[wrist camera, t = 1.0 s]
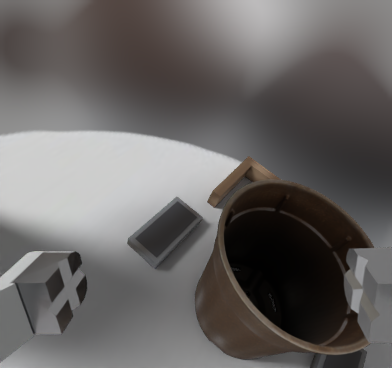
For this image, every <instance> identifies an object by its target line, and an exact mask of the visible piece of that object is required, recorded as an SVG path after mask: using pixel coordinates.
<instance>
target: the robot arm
mask: <svg viewBox="0 0 392 368" xmlns="http://www.w3.org/2000/svg"><path fill="white" fill-rule="evenodd" d="M346 262H347V264H348V265H349V267H350V269H349V270H348V271H347V272H346V273H345V275H344V290H345V296H346V299H347V302H348V304H349V306H350V308H351V309H352V310H354V311H355V312H357V313H358V321H357V322H358V323H359V325H360V327H361V329H362V331H363V333H364V335H365V337H366V339H367V341H368V342H370V343H389V344H392V247H387V248H356V249H349V250H348V252H347V258H346ZM81 264H82V261H81V257H80V254H79V253H77V252H76V251H33V252H28V253H27V254H26V255H25V256H24V257H23V258H21V259H20V260H19V261H18V262H17V263H16V264H15V265H14V266H12V267H11V268H10V269H9V270H8V271H7V272H6V273H5V274H4V275H2V276H1V277H0V362H2V361H3V360H4V359H6V358H7V357H8V356H9V355H11V354H12V353H13V352H14V351H16V350H17V349H18V348H20V347H21V346H22V345H23V344H25V343H26V342H27V341H28V340H30V339H31V338H32V337H34V335H49V334H62V333H63V332H64V330H65V328H66V327H67V325H68V324H69V322H70V321H71V319H72V317H73V313H72V310H74V309H75V308H77V307H78V306H80V305H81V303H82V301H83V300H84V298H85V294H86V291H87V280H86V276H85V274H84V273H83V272H82V271H81V270H80V269H79V268H80V266H81Z"/></svg>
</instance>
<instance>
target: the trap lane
mask: <svg viewBox="0 0 392 368" xmlns="http://www.w3.org/2000/svg"><path fill="white" fill-rule="evenodd" d="M244 177H247V178H248V179H249V180H251V181H252V182H256V181H261V180H271V179H274V180H281V179H279V178H278V177H276V176H275V175H274V174H272V173H271V172H270V171H268V170H267V169H266V168H264V167H263V166H261V165H260V164H259V163H257V162H256V161H255V160H253V159H252V158H250V157H248V158H246V159H245V160H244V161H243V162H242V163H241V164H240V165H239V166H238V167H237V168H236V169H235V170H234V171H233V172H232V173H231V174H230V175H229V176H228V177H227V178H226V179H225V180H224V181H223V182H221V183H220V184H219V185H218V186H217V187H216V188H215V189H214V190H213V192H212V193H211V195H210V197H209V199H208V201H207V202H208V203H209V204H210V205H212V206H213V207H214V208H215V207H216V206H217V204H218V203H219V202H220V201H221V200H222V199H223V198H224V197H225V196H226V195H227V194H228V193H229V192H230V191H231V190H232V189H233V188H234V187H235V186H236V185H237V184H238V183H239V182H240V181H241V180H242V179H243V178H244ZM202 218H203V217H201V216H200V215H199V214H198V213H197V212H195V211H194V210H193V209H192V208H190V207H189V206H188V205H187V204H186V203H184V202H183V201H182V200H181V199H179V198H178V197H176V198H175V199H174V200H172V201H171V202H170V203H169V204H168V205H167V206H165V207H164V208H163V209H162V210H161V211H160V212H159V213H157V214H156V215H155V216H154V217H153V218H152V219H150V220H149V221H148V222H147V223H146V224H145V225H143V226H142V227H141V228H140V229H139V230H138V231H136V232H135V233H134V234H133V235H132V236H131V237H130V238H128V243H127V244H128V245H129V246H130V247H131V248H133V249H134V250H135V251H136V252H137V253H138V254H139V255H140V256H141V257H142V258H144V259H145V260H146V261H147V262H148V263H149V264H150V265H151V266H152V267H153V268H156V267H157V266H158V265H159V264H160V263H161V262H162V261H163V260H164V259H165V258H166V257H167V256H168V255H169V254H170V253H171V252H172V251H173V250H174V249H175V248H176V247H177V246H178V245H179V244H180V243H181V242H182V241H183V240H184V239H185V237H186V236H187V235H188V234H189V233H190V232H191V231H192V230H193V229H194V228H195V227H196V226H197V225H198V224H199V223H200V221H201V220H202ZM366 354H367V352H366V351H365V350H364V349H361V350H359V351H356V352H353V353H347V354H341V355H324V354H318V353H316V354H315V357H314V359H313V362H312V365H311V367H310V368H363V366H364V362H365V358H366Z"/></svg>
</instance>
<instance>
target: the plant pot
mask: <svg viewBox="0 0 392 368" xmlns="http://www.w3.org/2000/svg"><path fill="white" fill-rule="evenodd" d="M356 248H374V246H373V244H372V242H371V241H370V239H369V238H368V236H367V235H366V234H365V232H364V231H363V230H362V228H361V227H360V226H359V225H358V224H357V222H355V220H354V219H353V218H352V217H351V216H350V215H349V214H348V213H347V212H346V211H344V210H343V209H342V208H341V207H340V206H338V205H337V204H336V203H334V202H333V201H332V200H330V199H329V198H327V197H326V196H324V195H322V194H321V193H319V192H317V191H315V190H313V189H311V188H308V187H306V186H303V185H301V184H297V183H294V182H290V181H285V180H274V179H271V180H261V181H256V182H253V183H250V184H248V185H246V186H244V187H242V188H241V189H239V190H238V191H237V192H235V193H234V194H233V195H232V196H231V197H230V199H229V200H228V202H227V203H226V205H225V207H224V209H223V211H222V214H221V216H220V220H219V224H218V231H217V237H216V240H215V244H214V250H213V253H212V255H211V257H210V259H209V261H208V263H207V266H206V268H205V270H204V272H203V274H202V276H201V278H200V280H199V282H198V285H197V288H196V293H195V308H196V314H197V318H198V321H199V324H200V326H201V328H202V330H203V332H204V333H205V335H206V336H207V338H208V339H209V340H210V341H211V342H213V343H214V344H215V345H216V346H217V347H218V348H219V349H221V350H222V351H223V352H224V353H225V354H227V355H230V356H232V357H235V358H240V359H255V358H260V357H264V356H269V355H274V354H280V353H285V352H292V351H293V352H302V353H309V352H313V353H318V354H324V355H341V354H347V353H353V352H356V351H359V350H361V349H363V348H365V347H366V346H368V345H369V344H371V343H370V342H368V341H367V339H366V337H365V335H364V333H363V331H362V329H361V327H360V325H359V323H358V322H357V321H358V313H357V312H355V311H354V310H352V309H351V308H350V306H349V304H348V302H347V299H346V296H345V290H344V275H345V273H346V272H347V271H348V270H349V269H350V267H349V265H348V264H347V262H346V258H347V252H348V250H349V249H356ZM231 267H236V268H240V271H236V270H235V271H232V270H231ZM246 291H248V292H249V293H250V296H247V295H246ZM269 292H270V293H271V294H272V296H273V298H274V301H275V305H276V309H277V311H276V312H275V311H274V309H273V306H272V302H271V299H270V298H269V296H268V293H269Z"/></svg>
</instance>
